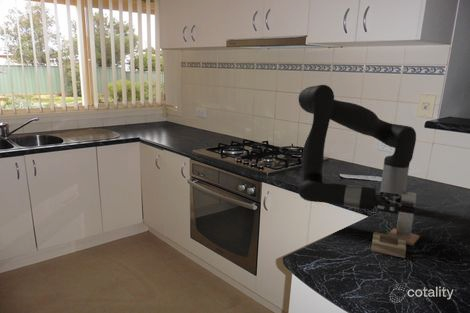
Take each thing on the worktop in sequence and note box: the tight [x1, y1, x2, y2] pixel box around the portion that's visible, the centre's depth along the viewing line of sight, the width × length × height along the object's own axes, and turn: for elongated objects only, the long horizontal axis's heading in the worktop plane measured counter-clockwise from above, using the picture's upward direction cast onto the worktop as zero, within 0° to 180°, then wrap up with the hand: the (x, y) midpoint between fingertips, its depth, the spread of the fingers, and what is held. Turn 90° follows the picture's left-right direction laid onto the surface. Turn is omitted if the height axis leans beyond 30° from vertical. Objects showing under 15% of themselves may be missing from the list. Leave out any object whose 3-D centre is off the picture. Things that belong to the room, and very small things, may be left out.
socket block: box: [370, 231, 407, 259], centre depth 106 cm, size 9×9×2 cm
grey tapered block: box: [396, 191, 417, 239], centre depth 112 cm, size 4×4×14 cm
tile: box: [387, 228, 420, 246], centre depth 114 cm, size 8×8×1 cm
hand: (414, 206), depth 111 cm, fingers open, 8 cm apart
